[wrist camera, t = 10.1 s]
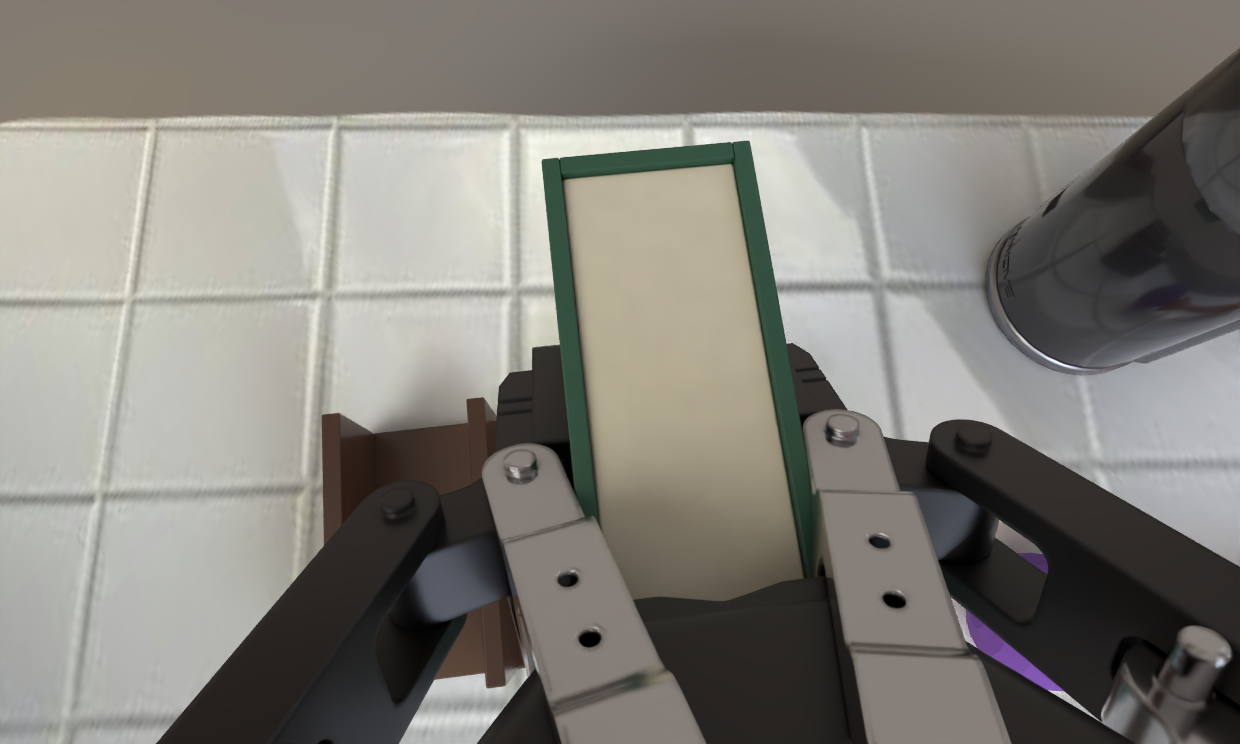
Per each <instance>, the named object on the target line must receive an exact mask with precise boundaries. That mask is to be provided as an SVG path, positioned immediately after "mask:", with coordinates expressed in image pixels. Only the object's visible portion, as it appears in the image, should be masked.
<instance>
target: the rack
mask: <svg viewBox="0 0 1240 744" xmlns="http://www.w3.org/2000/svg"><path fill="white" fill-rule="evenodd" d="M466 402H467V416H468V423H465V424H456V425H447V426H438V427H429V428H420V429H411V430H402V431H393V432H384V433H375V434H374V433H372V432H371V431H369V430H367V429H365V428H364V427H362V426H360V425H359V424H357V423H355V422H354V421H352V420H350V419H348V418H347V417H345V416H343V415H342V414H340V413H334V414H325V415H322V459H323V513H324V545H325V544H326V543H327V542H328V541H329V539H330V538H331V537H332V536H333V535H334V534H335V532H336V531H337V530H338V529H339V528H340V526H341V525H342V524H343V523H344V522H345V521H346V519H347V518H348V517H349V516H350V515H351V513H352V512H353V511H354V510H355V509H356V508H357V506H358V505H359V504H360V503H361V502H362V501H363V500H364V499H365V498H366V497H367V496H368V495H369V494H370V493H372V492H373V491H375V490H377V489H378V488H380V487H382V486H385V485H387V484H390V483H394V482H398V481H404V480H418V481H423V482H426V483H429V484H431V485H432V486H434V487H435V488H436V489H437V491H438V493H439V496H441V495H444V494H447V493H450V492H453V491H456V490H459V489H461V488H464V487H466V486H468V485H470V484H472V483H474V482H475V481H477V480H479V479H480V478H481V477H482V468H483V465H484V463H485V462H486V460H487V459H488V458H489V457H490V456H491V455H493V454H494V445H495V432H496V419H497V416H496V415H495V413H494V412H493V410H492V409H491V407H490V406H489V404H488V403H487V401H486V400H485V399H484V398H483V397H481V398H472V399H467V401H466ZM520 668H526V667H525V663H524V659H523V655H522V652H521V648H520V644H519V640H518V637H517V633H516V629H515V625H514V621H513V618H512V614H511V610H510V606H509V603H508V599H507V598H504V599H502V600H499V601H497V602H494V603H492V604H489V605H487V606H484V607H481V608H479V609H476V610H474V611H471V612H469V613H467V619H466V622H465V625H464V627H463V629H462V630H461V632H460V634H459V636H458V638H457V639H456V641H455V643H454V645H453V647H452V648H451V650H450V652H449V654H448V656H447V657H446V659H445V661H444V663H443V665H442V666H441V668H440V670H439V672H438V674H437V675H436V677H435V679H434V680H436V679H443V678H451V677H459V676H466V675H474V674H482V673H485V678H486V687H487V688H495V687H503V686H505V685H506V684H507V683H508V682H509V680H510V679H511V678H512V676H513V675H514V674H515V673H516V671H517V670H518V669H520Z"/></svg>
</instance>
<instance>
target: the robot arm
mask: <svg viewBox="0 0 1240 744" xmlns="http://www.w3.org/2000/svg"><path fill="white" fill-rule="evenodd" d="M1085 171H1086V170H1085ZM1080 175H1081V174H1080ZM1075 179H1076V178H1075ZM1070 183H1071V182H1070ZM1065 187H1066V186H1065ZM1060 191H1061V190H1060ZM1056 194H1057V193H1056ZM1056 194H1055V195H1056ZM1051 198H1052V197H1051ZM1051 198H1050V199H1051ZM1046 202H1047V201H1046ZM986 291H987V298H988V302H989V306H990V308H991V311H992V314H993V316H994V318H995V320H996V322H997V324H998V325H999V327H1000V329H1001V330H1002V331H1003V333H1004V334H1005V336H1006V337H1007V338H1008V339H1009V340H1010V342H1011V343H1012V344H1013V345H1014V346H1015V347H1016V348H1018V349H1019V350H1020V351H1021V352H1022V353H1023V354H1025V355H1026V356H1028V357H1029V358H1030V359H1032V360H1034V361H1035V362H1037V363H1039V364H1041V365H1043V366H1045V367H1047V368H1050V369H1053V370H1055V371H1059V372H1063V373H1067V374H1074V375H1094V374H1100V373H1105V372H1108V371H1111V370H1114V369H1117V368H1119V367H1122V366H1125V365H1127V364H1129V363H1131V362H1133V361H1136V362H1140V363H1149V362H1152V361H1154V360H1157V359H1160V358H1162V357H1165V356H1168V355H1171V354H1173V353H1176V352H1179V351H1181V350H1184V349H1187V348H1190V347H1192V346H1195V345H1198V344H1200V343H1203V342H1206V341H1209V340H1211V339H1214V338H1217V337H1219V336H1222V335H1225V334H1228V333H1230V332H1233V331H1236V330H1238V329H1240V48H1239V49H1238V50H1237V51H1235V52H1234V53H1233V54H1231V55H1230V56H1229V57H1228V58H1227V59H1225V60H1224V61H1223V62H1222V63H1220V64H1219V65H1218V66H1217V67H1215V68H1214V69H1213V70H1212V71H1211V72H1210V73H1208V74H1207V75H1206V76H1205V77H1203V78H1202V79H1201V80H1200V81H1198V82H1197V83H1196V84H1195V85H1193V86H1192V87H1191V88H1190V89H1189V90H1187V91H1186V92H1185V93H1184V94H1182V95H1181V96H1180V97H1179V98H1177V99H1176V100H1175V101H1174V102H1172V103H1171V104H1170V105H1169V106H1168V107H1166V108H1165V109H1164V110H1162V111H1161V112H1160V113H1159V114H1158V115H1156V116H1155V117H1154V118H1153V119H1151V120H1150V121H1149V122H1148V123H1146V124H1145V125H1144V126H1143V127H1141V128H1140V129H1139V130H1138V131H1136V132H1135V133H1134V134H1133V135H1131V136H1130V137H1129V138H1128V139H1126V140H1125V141H1124V142H1123V143H1122V144H1120V145H1119V146H1118V147H1117V148H1115V149H1114V150H1113V151H1112V152H1110V153H1109V154H1108V155H1107V156H1105V157H1104V158H1103V159H1102V160H1100V161H1099V162H1098V163H1097V164H1095V165H1094V166H1093V167H1092V168H1091V169H1089V170H1088V171H1087V172H1086V173H1084V174H1083V175H1082V176H1081V177H1079V178H1078V179H1077V180H1076V181H1074V182H1073V183H1072V184H1071V185H1069V186H1068V187H1067V188H1066V189H1064V190H1063V191H1062V192H1061V193H1060V194H1058V195H1057V196H1056V197H1055V198H1053V199H1052V200H1051V201H1049V202H1048V203H1047V204H1046V205H1044V206H1043V207H1042V208H1041V209H1040V210H1038V211H1037V212H1036V213H1035V214H1033V215H1032V216H1031V217H1029V218H1027V219H1025V220H1024V221H1022V222H1021V223H1019V224H1018V225H1017V226H1015V227H1014V228H1013V229H1012V230H1011V231H1009V232H1008V233H1007V234H1006V235H1005V236H1004V237H1003V238H1002V239H1001V240H1000V242H999V243H998V244H997V246H996V247H995V249H994V251H993V253H992V255H991V257H990V260H989V264H988V267H987V273H986ZM786 345H787V350H788V356H789V361H790V367H791V372H792V378H793V383H794V389H795V394H796V400H797V405H798V411H799V416H800V422H801V427H802V433H803V439H804V444H805V450H806V455H807V461H808V476H809V509H810V516H811V552H810V565H811V578H804V579H796V580H788V581H782V582H779V583H776V584H773V585H771V586H768V587H765V588H762V589H759V590H757V591H754V592H751V593H748V594H745V595H742V596H740V597H737V598H734V599H731V600H727V601H711V600H699V599H686V598H674V597H661V596H658V597H650V598H642V599H634V600H633V599H632V597H631V595H630V593H629V591H628V588H627V586H626V584H625V582H624V580H623V577H622V575H621V573H620V571H619V569H618V567H617V564H616V562H615V560H614V558H613V556H612V554H611V551H610V549H609V547H608V545H607V543H606V541H605V538H604V536H603V534H602V532H601V530H600V527H599V525H598V523H597V521H596V519H595V518H594V517H593V516H592V515H590V516H587V517H585V516H584V514H583V511H582V509H581V507H580V504H579V502H578V500H577V498H576V495H575V489H574V479H573V469H572V459H571V450H570V440H569V430H568V420H567V410H566V400H565V390H564V380H563V370H562V360H561V350H560V345H551V346H542V347H533V348H532V370H530V371H521V372H512V373H509V375H508V376H507V377H506V378H505V380H504V381H503V382H502V383H501V385H500V386H499V394H498V406H497V419H496V432H495V445H494V454H493V455H491V456H490V457H489V458H488V459H487V460H486V462H485V463H484V465H483V468H482V477H481V478H480V479H479V480H477V481H475V482H474V483H472V484H470V485H468V486H466V487H464V488H461V489H459V490H456V491H453V492H450V493H447V494H444V495H441V496H439V493H438V491H437V489H436V488H435V487H434V486H432V485H431V484H429V483H426V482H423V481H418V480H404V481H398V482H394V483H390V484H387V485H385V486H382V487H380V488H378V489H377V490H375V491H373V492H372V493H370V494H369V495H368V496H367V497H366V498H365V499H364V500H363V501H362V502H361V503H360V504H359V505H358V506H357V508H356V509H355V510H354V511H353V512H352V513H351V515H350V516H349V517H348V518H347V519H346V521H345V522H344V523H343V524H342V525H341V526H340V528H339V529H338V530H337V531H336V532H335V534H334V535H333V536H332V537H331V538H330V539H329V541H328V542H327V543H326V544H325V545H324V546H323V548H322V549H321V550H320V551H319V552H318V554H317V555H316V556H315V557H314V558H313V559H312V561H311V562H310V563H309V564H308V565H307V567H306V568H305V569H304V570H303V571H302V572H301V574H300V575H299V576H298V577H297V578H296V579H295V581H294V582H293V583H292V584H291V585H290V587H289V588H288V589H287V590H286V591H285V592H284V594H283V595H282V596H281V597H280V598H279V600H278V601H277V602H276V603H275V604H274V605H273V607H272V608H271V609H270V610H269V611H268V612H267V614H266V615H265V616H264V617H263V618H262V620H261V621H260V622H259V623H258V624H257V625H256V627H255V628H254V629H253V630H252V631H251V632H250V634H249V635H248V636H247V637H246V638H245V640H244V641H243V642H242V643H241V644H240V645H239V647H238V648H237V649H236V650H235V651H234V653H233V654H232V655H231V656H230V657H229V658H228V660H227V661H226V662H225V663H224V664H223V665H222V667H221V668H220V669H219V670H218V671H217V673H216V674H215V675H214V676H213V677H212V678H211V680H210V681H209V682H208V683H207V684H206V686H205V687H204V688H203V689H202V690H201V691H200V693H199V694H198V695H197V696H196V697H195V698H194V700H193V701H192V702H191V703H190V704H189V706H188V707H187V708H186V709H185V710H184V711H183V713H182V714H181V715H180V716H179V717H178V719H177V720H176V721H175V722H174V723H173V724H172V726H171V727H170V728H169V729H168V730H167V731H166V733H165V734H164V735H163V736H162V737H161V739H160V740H159V741H158V742H157V743H156V744H399V742H400V740H401V739H402V737H403V735H404V733H405V731H406V730H407V728H408V726H409V724H410V722H411V721H412V719H413V717H414V715H415V713H416V712H417V710H418V708H419V706H420V704H421V703H422V701H423V699H424V697H425V695H426V694H427V692H428V690H429V688H430V686H431V684H432V683H433V681H434V679H435V677H436V675H437V674H438V672H439V670H440V668H441V666H442V665H443V663H444V661H445V659H446V657H447V656H448V654H449V652H450V650H451V648H452V647H453V645H454V643H455V641H456V639H457V638H458V636H459V634H460V632H461V630H462V629H463V627H464V625H465V622H466V619H467V613H469V612H471V611H474V610H476V609H479V608H481V607H484V606H487V605H489V604H492V603H494V602H497V601H499V600H502V599H504V598H507V599H508V603H509V606H510V610H511V614H512V618H513V621H514V625H515V629H516V633H517V637H518V640H519V644H520V648H521V652H522V655H523V659H524V663H525V667H526V671H527V676H528V678H527V679H526V681H525V682H524V683H523V685H522V686H521V687H520V688H519V690H518V691H517V692H516V694H515V695H514V696H513V698H512V699H511V700H510V701H509V703H508V704H507V705H506V707H505V708H504V709H503V710H502V712H501V713H500V714H499V716H498V717H497V718H496V720H495V721H494V722H493V723H492V725H491V726H490V727H489V729H488V730H487V731H486V733H485V734H484V735H483V736H482V738H481V739H480V740H479V742H478V743H477V744H1240V567H1239V566H1237V565H1235V564H1234V563H1232V562H1230V561H1228V560H1227V559H1225V558H1223V557H1221V556H1220V555H1218V554H1216V553H1214V552H1213V551H1211V550H1209V549H1207V548H1206V547H1204V546H1202V545H1201V544H1199V543H1197V542H1195V541H1194V540H1192V539H1190V538H1188V537H1187V536H1185V535H1183V534H1181V533H1180V532H1178V531H1176V530H1174V529H1173V528H1171V527H1169V526H1167V525H1166V524H1164V523H1162V522H1160V521H1159V520H1157V519H1155V518H1153V517H1152V516H1150V515H1148V514H1147V513H1145V512H1143V511H1141V510H1140V509H1138V508H1136V507H1134V506H1133V505H1131V504H1129V503H1127V502H1126V501H1124V500H1122V499H1120V498H1119V497H1117V496H1115V495H1113V494H1112V493H1110V492H1108V491H1106V490H1105V489H1103V488H1101V487H1099V486H1098V485H1096V484H1094V483H1093V482H1091V481H1089V480H1087V479H1086V478H1084V477H1082V476H1080V475H1079V474H1077V473H1075V472H1073V471H1072V470H1070V469H1068V468H1066V467H1065V466H1063V465H1061V464H1059V463H1058V462H1056V461H1054V460H1052V459H1051V458H1049V457H1047V456H1045V455H1044V454H1042V453H1040V452H1039V451H1037V450H1035V449H1033V448H1032V447H1030V446H1028V445H1026V444H1025V443H1023V442H1021V441H1019V440H1018V439H1016V438H1014V437H1012V436H1011V435H1009V434H1007V433H1005V432H1004V431H1002V430H1000V429H998V428H996V427H994V426H992V425H989V424H986V423H983V422H978V421H973V420H950V421H945V422H942V423H940V424H938V425H936V426H935V427H934V428H933V429H932V431H931V434H930V439H929V442H918V441H907V440H898V439H891V438H887V437H883V434H882V431H881V429H880V427H879V426H878V424H877V423H876V422H874V421H873V420H872V419H870V418H869V417H867V416H865V415H863V414H860V413H857V412H853V411H849V410H847V408H846V407H845V405H844V404H843V402H842V401H841V399H840V398H839V396H838V395H837V393H836V392H835V390H834V389H833V387H832V386H831V384H830V383H829V382H828V380H826V377H825V376H824V374H823V373H822V371H821V370H819V367H818V365H817V364H816V362H815V361H814V359H813V358H812V356H811V355H810V354H809V353H808V352H806V351H805V350H803V349H801V348H800V347H798V346H796V345H795V344H793V343H790V344H786ZM999 520H1000V521H1002V522H1003V523H1005V524H1006V525H1008V526H1009V527H1010V528H1012V529H1013V530H1015V531H1016V532H1018V533H1019V534H1021V535H1022V536H1024V537H1025V538H1026V539H1028V540H1029V541H1031V542H1032V543H1034V544H1035V545H1036V546H1037V547H1038V548H1039V549H1040V550H1041V552H1042V553H1043V555H1044V557H1045V559H1046V561H1047V564H1048V574H1046V573H1044V572H1043V571H1041V570H1040V569H1039V568H1037V567H1036V566H1034V565H1033V564H1031V563H1030V562H1029V561H1027V560H1026V559H1024V558H1023V557H1022V556H1020V555H1019V554H1017V553H1016V552H1015V551H1013V550H1012V549H1010V548H1009V547H1008V546H1006V545H1005V544H1003V543H1002V542H1001V541H999V540H998V539H996V538H995V535H996V531H997V527H998V523H999ZM950 596H951V597H952V598H953V599H954V600H956V601H957V602H958V603H959V604H960V605H962V606H963V607H964V608H965V609H966V610H968V611H969V612H970V613H971V614H972V615H974V616H975V617H976V618H977V619H978V620H980V621H981V622H982V623H983V624H984V625H986V626H987V627H988V628H989V629H990V630H992V631H993V632H994V633H995V634H996V635H998V636H999V637H1000V638H1001V639H1002V640H1004V641H1005V642H1006V643H1007V644H1008V645H1010V646H1011V647H1012V648H1013V649H1014V650H1016V651H1017V652H1018V653H1019V654H1020V655H1022V656H1023V657H1024V658H1025V659H1026V660H1028V661H1029V662H1030V663H1031V664H1032V665H1034V666H1035V667H1036V668H1037V669H1038V670H1040V671H1041V672H1042V673H1043V674H1044V675H1046V676H1047V677H1048V678H1049V679H1050V680H1052V681H1053V682H1054V683H1055V684H1056V685H1058V686H1059V687H1060V688H1061V689H1062V690H1064V691H1065V692H1066V693H1067V694H1068V695H1070V696H1071V697H1072V698H1073V699H1074V700H1076V701H1077V702H1078V703H1079V704H1080V705H1082V706H1083V707H1084V708H1085V709H1086V710H1088V711H1089V712H1090V713H1091V714H1092V715H1094V716H1095V717H1096V718H1097V719H1098V720H1100V721H1101V722H1102V723H1101V722H1099V721H1098V720H1096V719H1094V718H1093V717H1091V716H1089V715H1088V714H1086V713H1084V712H1083V711H1081V710H1079V709H1078V708H1076V707H1074V706H1073V705H1071V704H1069V703H1068V702H1066V701H1064V700H1063V699H1061V698H1059V697H1058V696H1056V695H1054V694H1053V693H1051V692H1049V691H1048V690H1046V689H1044V688H1043V687H1041V686H1039V685H1038V684H1036V683H1034V682H1033V681H1031V680H1029V679H1028V678H1026V677H1024V676H1023V675H1021V674H1019V673H1018V672H1016V671H1014V670H1013V669H1011V668H1009V667H1008V666H1006V665H1004V664H1003V663H1001V662H999V661H998V660H996V659H994V658H993V657H991V656H990V655H988V654H986V653H985V652H983V651H981V650H980V649H978V648H976V647H975V646H973V645H971V644H970V643H968V642H966V641H965V639H964V636H963V633H962V630H961V627H960V624H959V621H958V618H957V615H956V612H955V609H954V606H953V603H952V600H951V598H950Z"/></svg>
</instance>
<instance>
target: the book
mask: <svg viewBox="0 0 1240 744" xmlns="http://www.w3.org/2000/svg"><path fill="white" fill-rule="evenodd" d="M542 171H543V181H544V191H545V201H546V211H547V221H548V231H549V241H550V251H551V261H552V271H553V281H554V291H555V301H556V310H557V320H558V330H559V340H560V350H561V360H562V370H563V380H564V390H565V400H566V410H567V420H568V430H569V440H570V450H571V459H572V469H573V479H574V489H575V495H576V498H577V500H578V502H579V504H580V507H581V509H582V511H583V514H584V516H585V517H587V516H590V515H592V516H593V517H594V518H595V519H596V521H597V523H598V525H599V527H600V530H601V532H602V534H603V536H604V538H605V541H606V543H607V545H608V547H609V549H610V551H611V554H612V556H613V558H614V560H615V562H616V564H617V567H618V569H619V571H620V573H621V575H622V577H623V580H624V582H625V584H626V586H627V588H628V591H629V593H630V595H631V597H632V599H633V600H634V599H642V598H650V597H658V596H661V597H674V598H686V599H699V600H711V601H727V600H731V599H734V598H737V597H740V596H742V595H745V594H748V593H751V592H754V591H757V590H759V589H762V588H765V587H768V586H771V585H773V584H776V583H779V582H782V581H788V580H796V579H804V578H811V565H810V552H811V516H810V509H809V476H808V461H807V455H806V450H805V444H804V439H803V433H802V427H801V422H800V416H799V411H798V405H797V400H796V394H795V389H794V383H793V378H792V372H791V367H790V361H789V356H788V350H787V345H786V339H785V334H784V328H783V323H782V317H781V311H780V306H779V300H778V295H777V289H776V284H775V278H774V273H773V267H772V262H771V256H770V251H769V245H768V240H767V234H766V229H765V223H764V218H763V212H762V207H761V201H760V196H759V190H758V184H757V179H756V173H755V168H754V162H753V157H752V151H751V146H750V142H749V141H739V142H733V144H732V143H731V142H728V143H717V144H706V145H695V146H684V147H673V148H662V149H651V150H640V151H629V152H618V153H607V154H596V155H585V156H574V157H563V158H560V160H559V158H552V159H543V160H542Z"/></svg>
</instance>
